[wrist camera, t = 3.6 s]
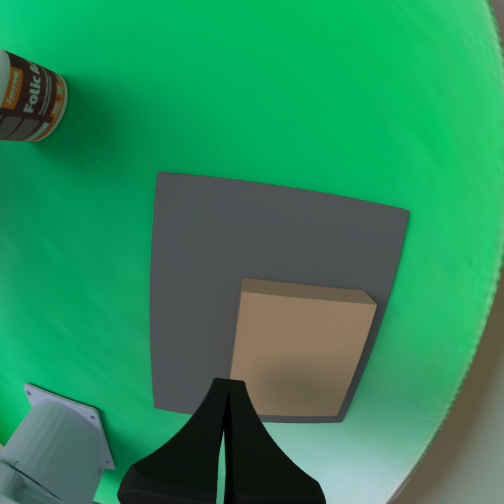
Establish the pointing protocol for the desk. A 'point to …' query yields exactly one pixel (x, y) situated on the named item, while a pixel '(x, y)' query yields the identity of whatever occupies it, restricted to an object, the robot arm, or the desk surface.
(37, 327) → the desk surface
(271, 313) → the block
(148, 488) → the robot arm
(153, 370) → the mat
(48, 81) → the pill bottle
